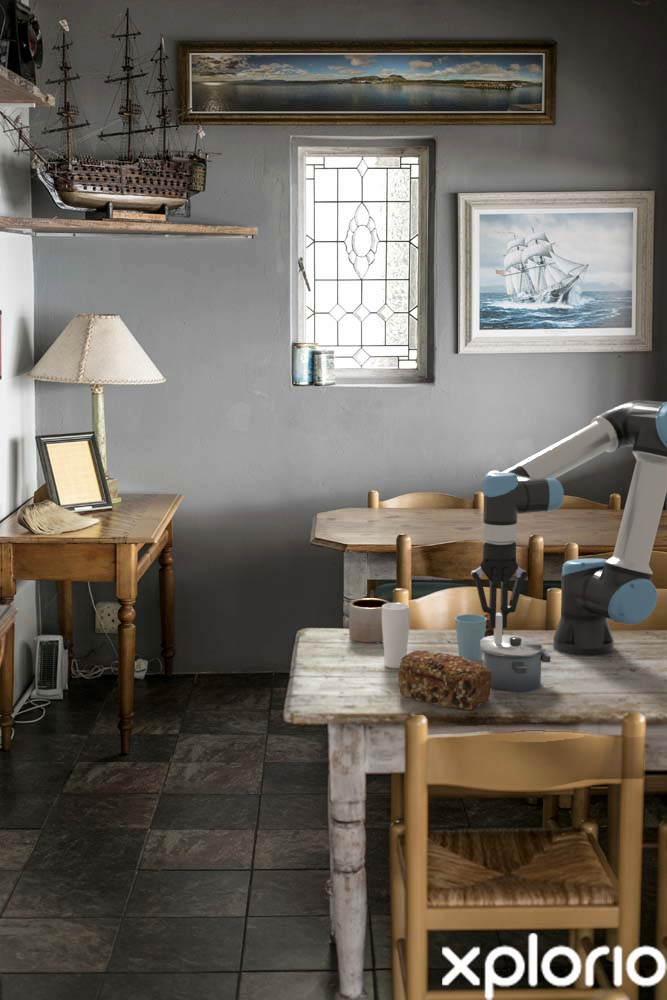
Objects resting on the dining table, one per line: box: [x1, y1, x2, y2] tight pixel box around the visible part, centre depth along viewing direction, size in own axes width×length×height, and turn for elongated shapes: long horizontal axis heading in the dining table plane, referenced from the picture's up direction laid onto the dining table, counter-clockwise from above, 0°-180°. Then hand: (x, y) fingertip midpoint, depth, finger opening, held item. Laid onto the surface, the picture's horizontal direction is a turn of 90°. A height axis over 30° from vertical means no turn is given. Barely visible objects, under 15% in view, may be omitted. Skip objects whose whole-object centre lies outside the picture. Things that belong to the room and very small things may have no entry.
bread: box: [397, 650, 492, 711], centre depth 249 cm, size 19×11×10 cm, turn 57°
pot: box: [483, 648, 551, 694], centre depth 259 cm, size 15×21×8 cm
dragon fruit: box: [483, 613, 504, 637], centre depth 290 cm, size 8×8×12 cm
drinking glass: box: [382, 602, 411, 669], centre depth 271 cm, size 7×7×15 cm
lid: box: [480, 634, 546, 658], centre depth 258 cm, size 14×14×2 cm
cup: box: [454, 613, 487, 662], centre depth 277 cm, size 8×8×10 cm
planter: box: [348, 597, 391, 644], centre depth 295 cm, size 11×11×10 cm
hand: (497, 641), depth 258 cm, fingers closed
